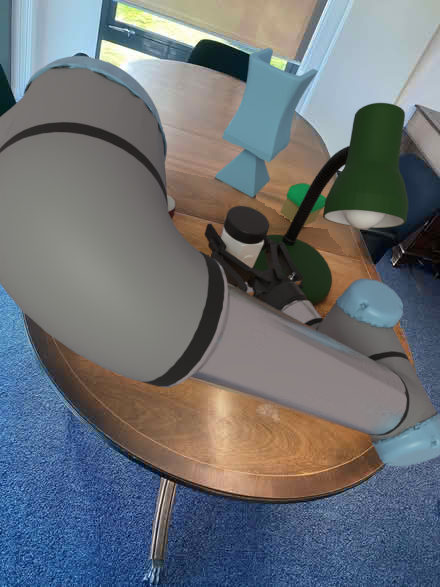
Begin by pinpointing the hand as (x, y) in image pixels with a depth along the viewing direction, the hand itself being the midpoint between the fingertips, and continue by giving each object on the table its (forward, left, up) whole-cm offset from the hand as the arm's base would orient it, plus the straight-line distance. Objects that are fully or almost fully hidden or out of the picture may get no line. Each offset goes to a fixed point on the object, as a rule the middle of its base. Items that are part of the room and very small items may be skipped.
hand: (228, 226), depth 76 cm
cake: (+37, +27, -17) cm, 49 cm away
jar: (+1, -4, -7) cm, 8 cm away
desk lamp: (+21, -1, -17) cm, 28 cm away
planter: (+25, +45, -17) cm, 54 cm away
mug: (-11, +17, -17) cm, 26 cm away
